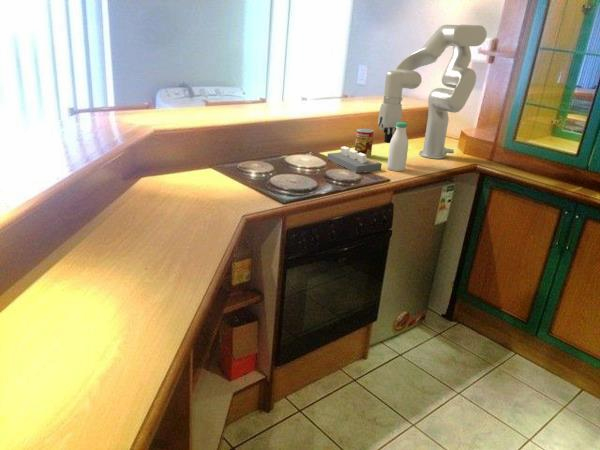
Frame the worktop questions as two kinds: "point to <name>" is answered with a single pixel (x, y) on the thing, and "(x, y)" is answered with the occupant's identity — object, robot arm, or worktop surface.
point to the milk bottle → (398, 148)
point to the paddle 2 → (361, 157)
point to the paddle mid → (353, 154)
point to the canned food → (364, 141)
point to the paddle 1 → (345, 150)
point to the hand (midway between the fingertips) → (387, 142)
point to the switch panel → (355, 163)
